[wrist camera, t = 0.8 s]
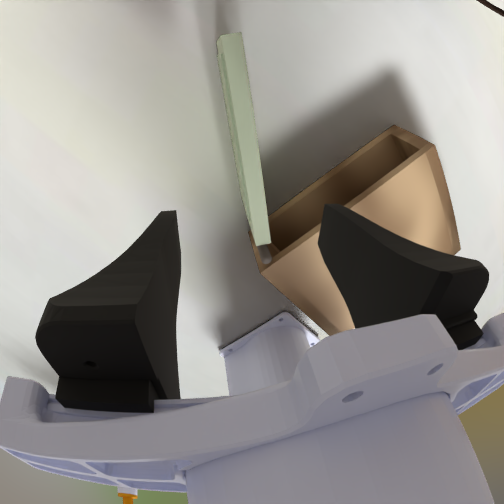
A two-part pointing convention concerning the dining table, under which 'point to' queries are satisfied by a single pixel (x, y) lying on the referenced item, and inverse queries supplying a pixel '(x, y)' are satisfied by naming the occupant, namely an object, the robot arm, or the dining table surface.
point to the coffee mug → (492, 7)
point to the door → (243, 133)
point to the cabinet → (367, 205)
